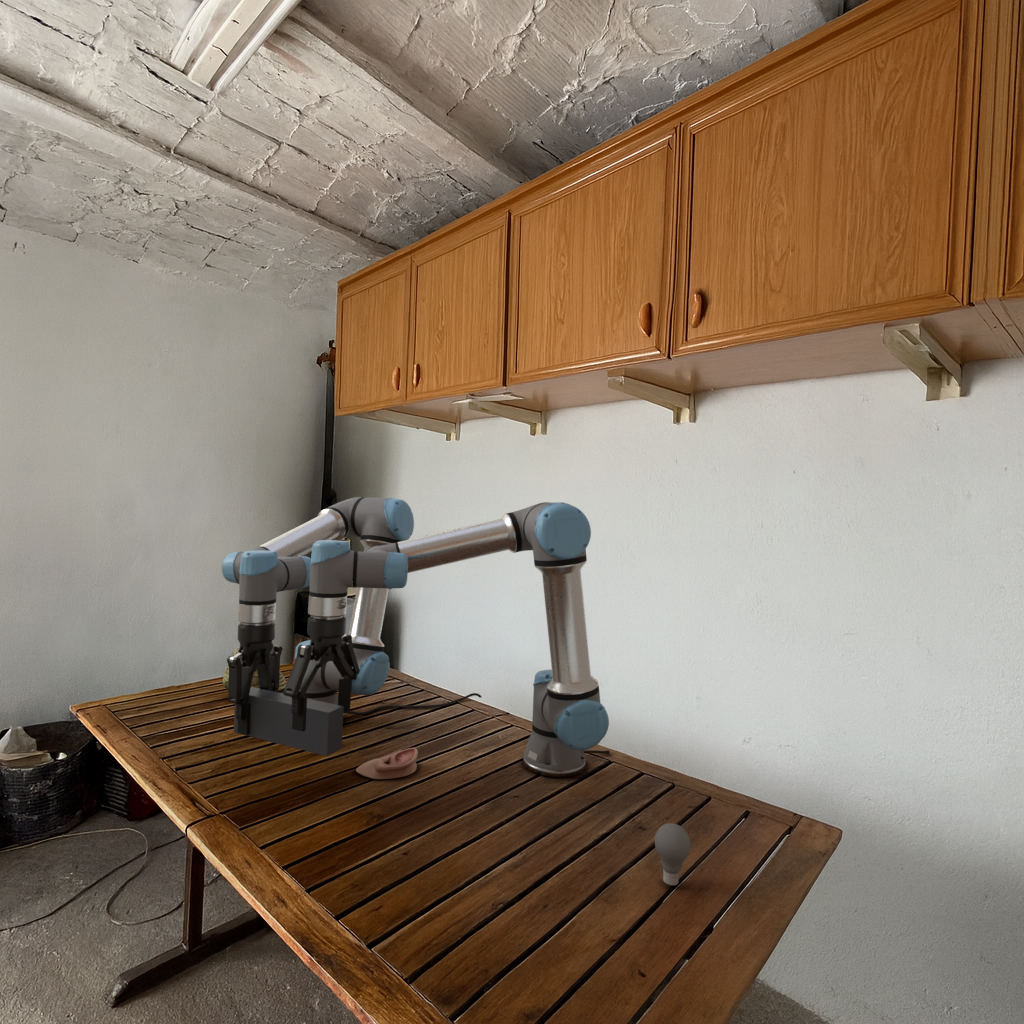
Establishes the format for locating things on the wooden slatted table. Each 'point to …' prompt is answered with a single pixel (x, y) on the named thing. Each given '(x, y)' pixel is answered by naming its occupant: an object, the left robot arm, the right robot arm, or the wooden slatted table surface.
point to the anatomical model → (390, 765)
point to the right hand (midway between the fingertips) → (322, 719)
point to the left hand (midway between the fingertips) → (253, 729)
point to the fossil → (255, 678)
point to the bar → (276, 722)
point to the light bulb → (672, 850)
